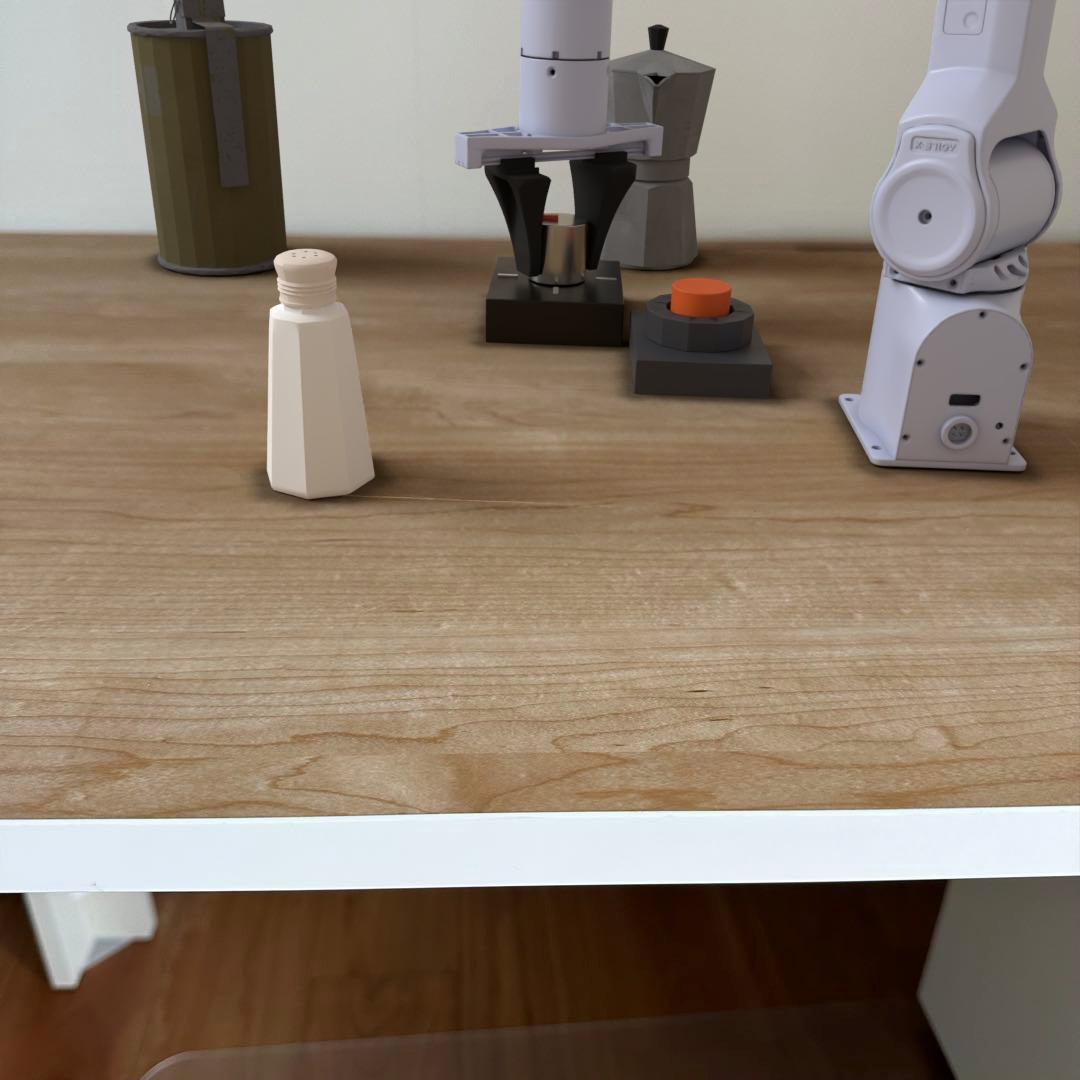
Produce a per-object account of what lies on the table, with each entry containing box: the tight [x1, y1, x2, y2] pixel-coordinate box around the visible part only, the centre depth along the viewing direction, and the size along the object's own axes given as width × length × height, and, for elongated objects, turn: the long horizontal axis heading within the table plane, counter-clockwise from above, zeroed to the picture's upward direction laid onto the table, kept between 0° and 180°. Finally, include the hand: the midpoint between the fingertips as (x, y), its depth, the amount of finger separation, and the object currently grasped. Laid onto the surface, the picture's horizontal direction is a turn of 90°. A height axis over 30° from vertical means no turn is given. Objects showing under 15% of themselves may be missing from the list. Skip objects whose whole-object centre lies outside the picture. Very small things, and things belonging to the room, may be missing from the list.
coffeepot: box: [600, 23, 717, 271], centre depth 93 cm, size 15×9×18 cm, turn 176°
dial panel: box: [485, 256, 625, 348], centre depth 79 cm, size 11×9×3 cm
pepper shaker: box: [266, 248, 376, 500], centre depth 54 cm, size 5×5×11 cm
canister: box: [126, 0, 290, 277], centre depth 87 cm, size 11×10×20 cm
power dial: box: [529, 212, 588, 286], centre depth 77 cm, size 4×4×4 cm
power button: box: [670, 277, 733, 318], centre depth 70 cm, size 4×4×2 cm
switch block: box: [627, 293, 774, 400], centre depth 71 cm, size 10×8×4 cm
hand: (557, 269), depth 78 cm, fingers closed on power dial, 4 cm apart
